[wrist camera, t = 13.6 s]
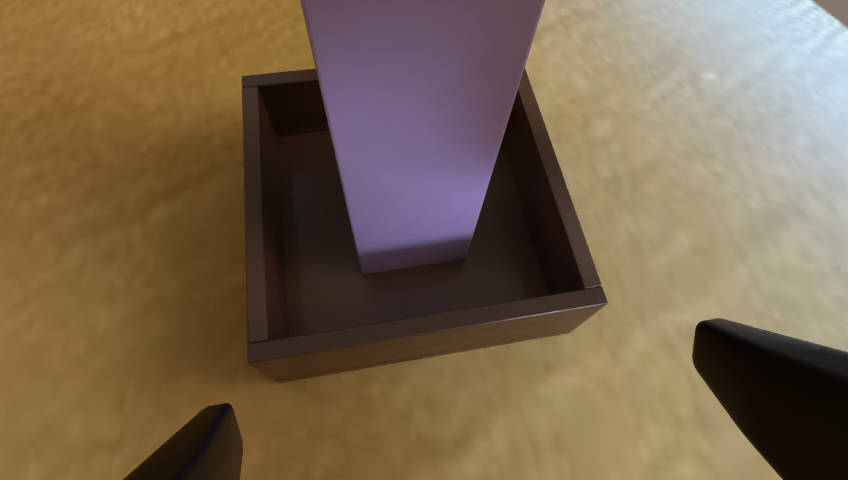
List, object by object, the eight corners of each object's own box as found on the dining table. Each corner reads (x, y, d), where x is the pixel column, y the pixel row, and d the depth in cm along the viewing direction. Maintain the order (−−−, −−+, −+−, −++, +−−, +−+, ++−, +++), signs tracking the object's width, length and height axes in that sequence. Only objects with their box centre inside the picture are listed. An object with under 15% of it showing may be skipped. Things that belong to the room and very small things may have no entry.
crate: (570, 333, 18) (608, 303, 15) (278, 383, 17) (247, 364, 14) (501, 109, 23) (517, 47, 20) (266, 136, 22) (241, 75, 18)
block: (466, 259, 19) (561, -46, 8) (361, 275, 18) (294, -25, 7) (445, 172, 21) (497, -185, 9) (349, 184, 20) (280, -174, 9)
